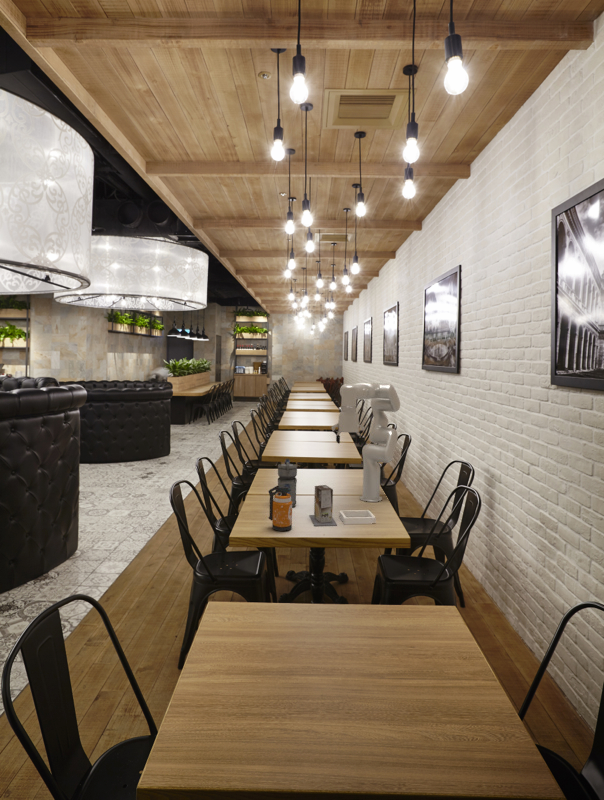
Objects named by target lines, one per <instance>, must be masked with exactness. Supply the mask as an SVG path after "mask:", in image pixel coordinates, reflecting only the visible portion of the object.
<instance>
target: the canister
mask: <svg viewBox="0 0 604 800" xmlns="http://www.w3.org/2000/svg"><path fill="white" fill-rule="evenodd" d="M290 491H291V488H289V487H280V486H278V484H277V485H276V486H274V487H273V488H270V489H269V490H268V494H269V516H268V519H269V520H270V521H272V525H271V527H272V529H274V530H275V531H278V532H285V531H286V530H287V531H289V530H291V529H293V526H292V525H293V523H292V522H293V507H292V501H291V495H290V494H287V493H288V492H290ZM287 531H286V532H287Z"/></svg>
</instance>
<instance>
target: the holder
mask: <svg viewBox="0 0 604 800" xmlns="http://www.w3.org/2000/svg"><path fill="white" fill-rule="evenodd" d="M338 517H339V519H340V518H341V519H340V520H341V522H342V521H343V522H342V523H343V525H373V524H372V523H377V522H376V520H377V518H376V516H375V515H374V514H373V513H372V512H371V511H370V510H369V509H356V510H353V509H351V510H350V509H349V510H348V509H347V510H338Z"/></svg>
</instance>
